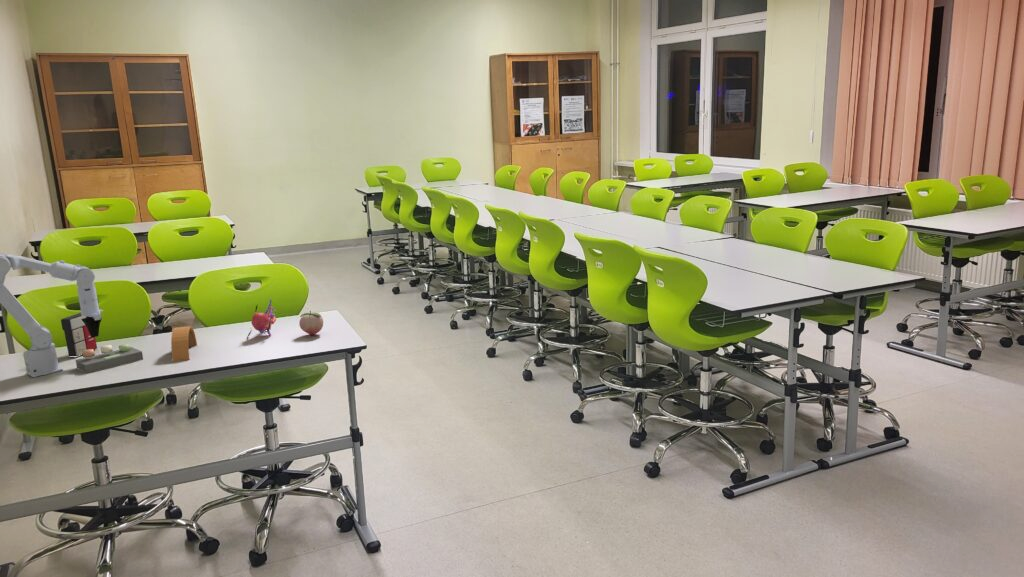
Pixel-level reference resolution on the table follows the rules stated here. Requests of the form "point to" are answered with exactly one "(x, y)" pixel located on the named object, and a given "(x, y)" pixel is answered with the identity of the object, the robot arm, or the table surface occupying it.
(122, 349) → the sage button
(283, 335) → the table surface
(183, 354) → the arch
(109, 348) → the cream button
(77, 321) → the grey and red box
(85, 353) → the terracotta button
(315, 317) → the decorative fruit
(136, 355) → the button panel
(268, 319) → the heart model
